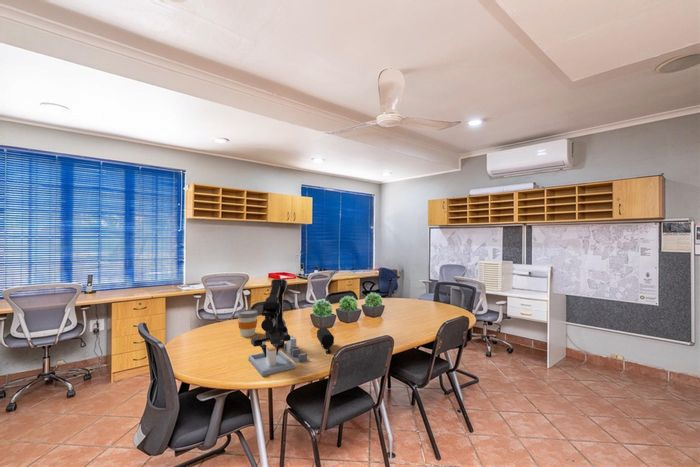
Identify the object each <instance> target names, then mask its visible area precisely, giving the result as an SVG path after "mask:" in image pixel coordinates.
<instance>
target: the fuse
mask: <svg viewBox="0 0 700 467" xmlns="http://www.w3.org/2000/svg"><path fill="white" fill-rule="evenodd" d="M285 342H286V351H287V352H288V353H290V348H293V347H297V338H296V337H294V335H290V341H285Z"/></svg>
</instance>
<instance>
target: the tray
mask: <svg viewBox="0 0 700 467" xmlns="http://www.w3.org/2000/svg"><path fill="white" fill-rule="evenodd" d="M248 361H249V362H250V364H251V365H252V366H253V367H254V368H255V370H256V371H257V372H258V373H259V375H260V376H261V377H267V376H270V375H271V374H276V373H280V372H284V371H288V370H293V369H295V367H296V366H295V364H296V363H295V362H294V361H293V360H291V359H290V358H289V357H288V356H287V355H286V354H285V353H283V352H282V351H280V350H279V351H278V353H277V355H276V365H273V366H269V365H268V364H267V363H266V357H265V356H264V353H263V352H259V353H253V354H249V355H248Z"/></svg>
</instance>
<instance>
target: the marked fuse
mask: <svg viewBox="0 0 700 467" xmlns="http://www.w3.org/2000/svg"><path fill="white" fill-rule="evenodd" d="M266 354H267V356H266V363H267V364H268V365H269V366H273V365H276V348H275V347H274V346H273V345H272V344H271V345H267V346H266Z"/></svg>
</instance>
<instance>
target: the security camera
mask: <svg viewBox="0 0 700 467" xmlns="http://www.w3.org/2000/svg"><path fill="white" fill-rule="evenodd" d="M316 339H318V341H319V343H320V344H321V346H322V348H323V349H324V350H325V353H326V354H332V351H331V350H330V348H332V346H333V345H334V344H335V336H334V335H333V334H332V332H331V331H330V330H329V329H328V328H327V327H326V326H325V327H319V328H318V330H316Z"/></svg>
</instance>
